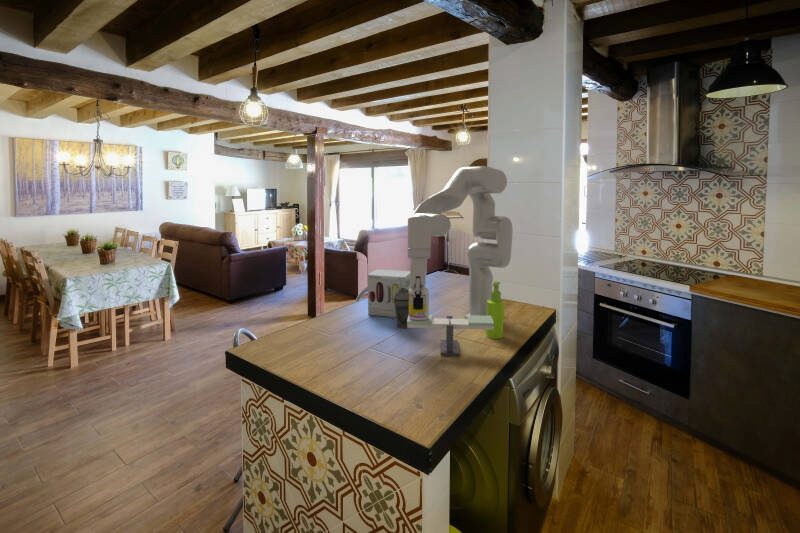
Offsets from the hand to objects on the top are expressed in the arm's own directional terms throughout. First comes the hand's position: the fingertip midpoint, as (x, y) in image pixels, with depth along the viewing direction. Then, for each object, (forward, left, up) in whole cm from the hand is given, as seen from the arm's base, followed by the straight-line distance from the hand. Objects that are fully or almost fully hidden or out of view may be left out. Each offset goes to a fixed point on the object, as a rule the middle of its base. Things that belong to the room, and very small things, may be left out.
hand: (418, 305), depth 137 cm
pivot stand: (-9, +6, -15) cm, 18 cm away
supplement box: (-12, -41, -15) cm, 46 cm away
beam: (-9, +6, -6) cm, 12 cm away
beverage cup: (-7, -22, -15) cm, 28 cm away
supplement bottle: (0, 0, -4) cm, 4 cm away
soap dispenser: (-31, +4, -15) cm, 34 cm away
